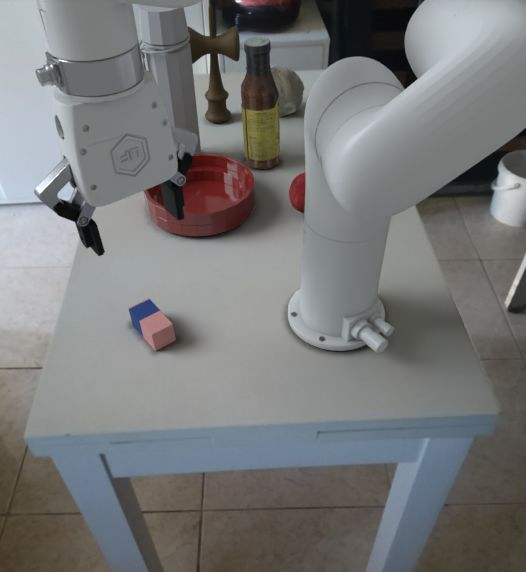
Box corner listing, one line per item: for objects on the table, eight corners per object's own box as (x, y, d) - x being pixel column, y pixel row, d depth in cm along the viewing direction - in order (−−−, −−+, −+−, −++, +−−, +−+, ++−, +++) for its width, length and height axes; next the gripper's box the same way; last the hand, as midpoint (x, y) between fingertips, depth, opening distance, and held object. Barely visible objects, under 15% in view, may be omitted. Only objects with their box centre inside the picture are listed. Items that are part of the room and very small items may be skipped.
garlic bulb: (300, 125, 115) (319, 81, 106) (265, 130, 111) (282, 85, 102) (278, 94, 118) (294, 49, 110) (243, 97, 114) (257, 51, 106)
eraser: (176, 340, 72) (173, 323, 70) (155, 351, 71) (151, 335, 69) (152, 314, 76) (148, 297, 73) (131, 324, 74) (127, 307, 72)
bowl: (276, 211, 91) (276, 186, 87) (184, 253, 84) (181, 228, 81) (215, 166, 100) (213, 142, 97) (128, 201, 93) (123, 177, 90)
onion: (322, 226, 88) (325, 180, 82) (285, 222, 89) (286, 176, 83) (327, 205, 92) (330, 159, 86) (291, 201, 93) (293, 156, 87)
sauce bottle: (287, 163, 101) (289, 43, 86) (258, 175, 98) (255, 53, 83) (264, 148, 104) (262, 30, 89) (236, 159, 102) (230, 40, 87)
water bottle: (190, 146, 105) (172, -8, 86) (210, 165, 100) (196, 7, 82) (144, 160, 102) (115, 4, 83) (163, 180, 97) (137, 20, 79)
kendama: (194, 112, 114) (182, 0, 99) (242, 110, 114) (237, -2, 99) (193, 127, 110) (180, 12, 95) (243, 125, 110) (238, 10, 95)
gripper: (17, 113, 43) (77, 282, 56) (206, 53, 50) (222, 217, 63) (-17, 81, 47) (47, 246, 60) (163, 30, 54) (185, 187, 67)
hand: (136, 231), depth 62 cm, fingers open, 9 cm apart
